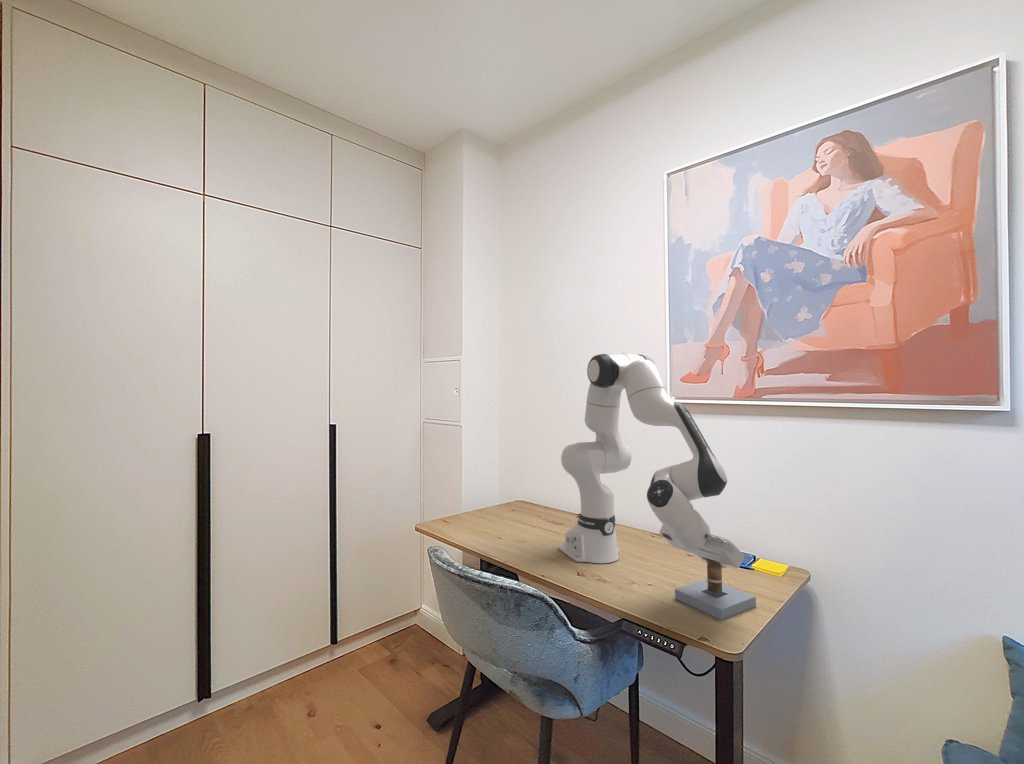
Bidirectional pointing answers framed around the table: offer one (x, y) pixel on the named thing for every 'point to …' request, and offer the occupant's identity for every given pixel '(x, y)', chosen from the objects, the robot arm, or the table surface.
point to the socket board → (715, 599)
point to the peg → (714, 576)
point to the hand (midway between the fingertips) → (715, 562)
